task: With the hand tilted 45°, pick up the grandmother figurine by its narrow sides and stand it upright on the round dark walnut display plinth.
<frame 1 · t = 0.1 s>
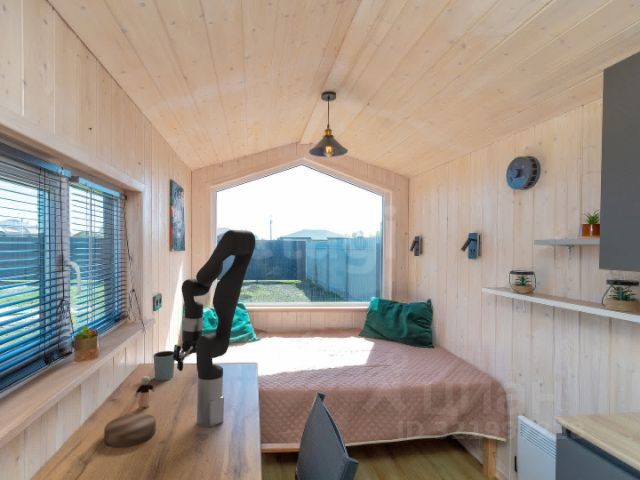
hand: (190, 367, 149), 17 cm above the table, tool pointing down, fingers open, 8 cm apart
walnut plinth: (130, 435, 130), on the table
grandmother figurine: (144, 407, 152), on the table
grey-green cup: (163, 378, 184), on the table
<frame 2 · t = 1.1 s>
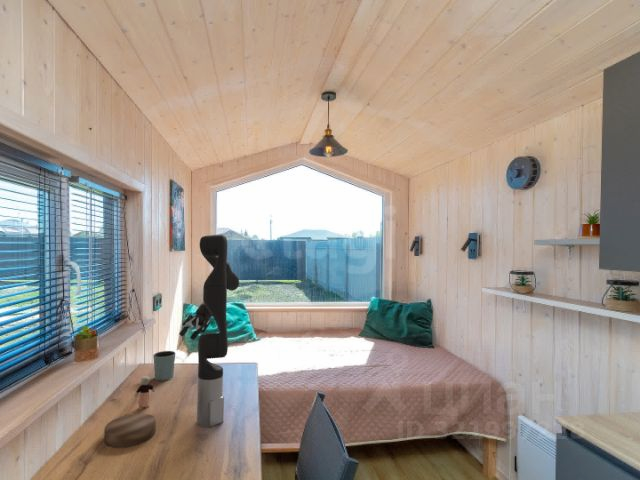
hand: (186, 337, 166), 25 cm above the table, tool tilted 45°, fingers open, 8 cm apart
nothing on the table moved.
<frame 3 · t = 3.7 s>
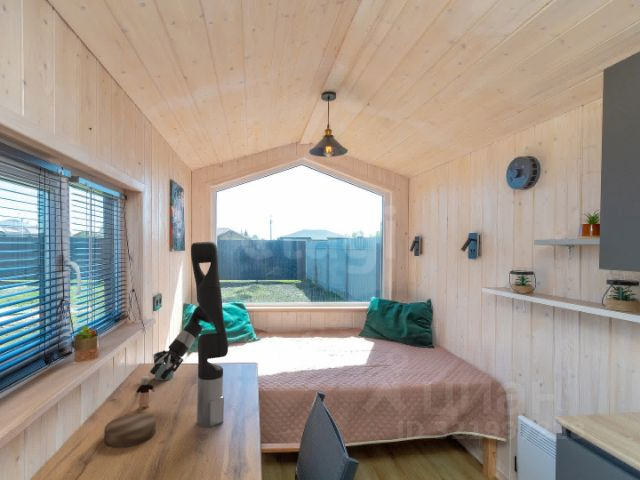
hand: (156, 376, 156), 11 cm above the table, tool tilted 45°, fingers open, 8 cm apart
nothing on the table moved.
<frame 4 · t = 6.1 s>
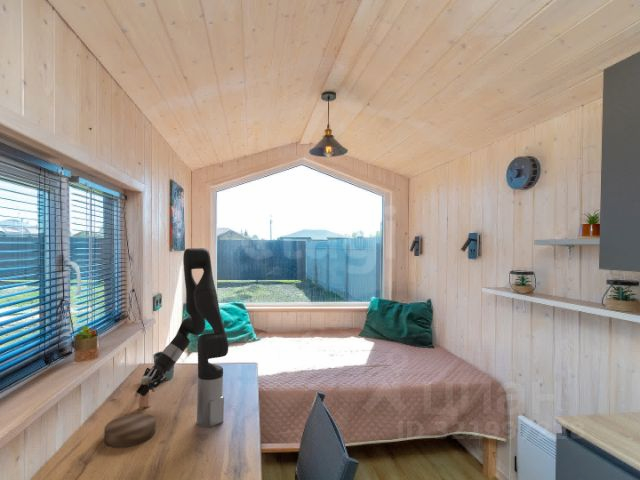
hand: (140, 393, 150), 6 cm above the table, tool tilted 45°, fingers closed on grandmother figurine, 2 cm apart
grandmother figurine: (145, 407, 152), on the table, touching gripper
everything else where it was.
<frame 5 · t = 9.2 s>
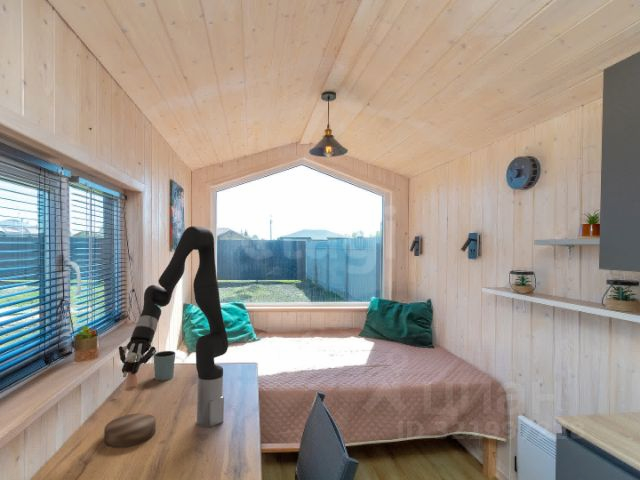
hand: (128, 373, 130), 22 cm above the table, tool tilted 45°, fingers closed on grandmother figurine, 2 cm apart
grandmother figurine: (132, 388, 132), point 15 cm above the table, touching gripper
everything else where it was.
when the fingers open (11 cm above the table, at t = 12.3 s): grandmother figurine drops 1 cm, resting on walnut plinth.
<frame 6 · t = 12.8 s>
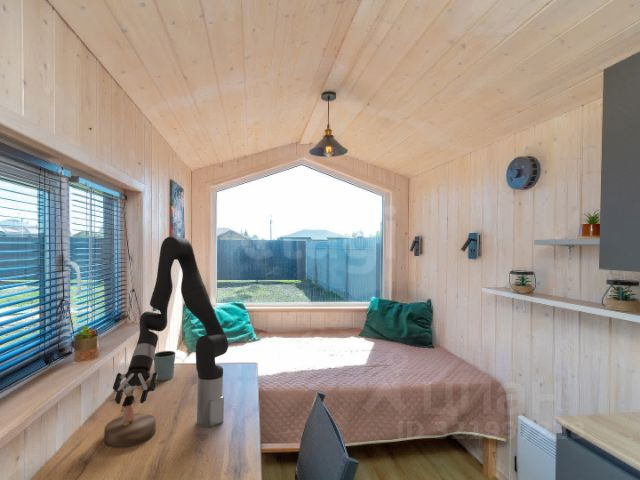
hand: (129, 402, 128), 12 cm above the table, tool tilted 45°, fingers open, 7 cm apart
grandmother figurine: (128, 422, 131), point 4 cm above the table, touching walnut plinth
everything else where it was.
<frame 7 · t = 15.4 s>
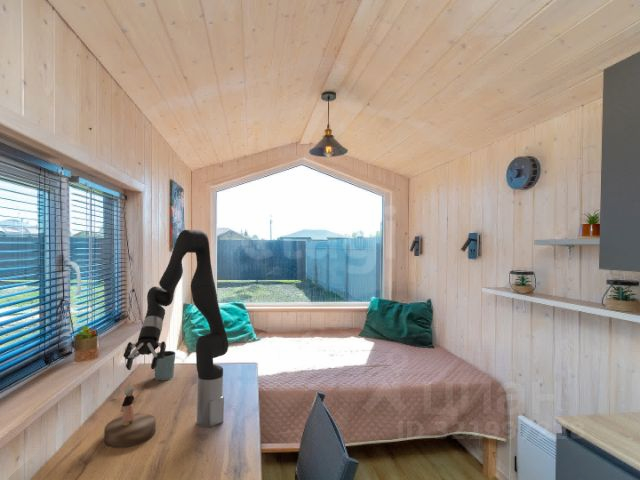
hand: (140, 368, 138), 21 cm above the table, tool tilted 45°, fingers open, 8 cm apart
nothing on the table moved.
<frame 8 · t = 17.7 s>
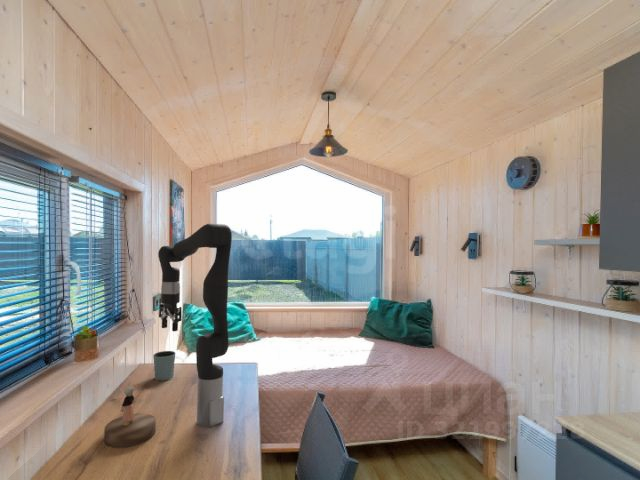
hand: (169, 329, 160), 30 cm above the table, tool pointing down, fingers open, 8 cm apart
nothing on the table moved.
at the end: grandmother figurine inside the target area on the walnut plinth (2.1 cm from its centre), point 3.8 cm above the walnut plinth's base; grandmother figurine tilted 0°; the gripper is holding nothing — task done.
